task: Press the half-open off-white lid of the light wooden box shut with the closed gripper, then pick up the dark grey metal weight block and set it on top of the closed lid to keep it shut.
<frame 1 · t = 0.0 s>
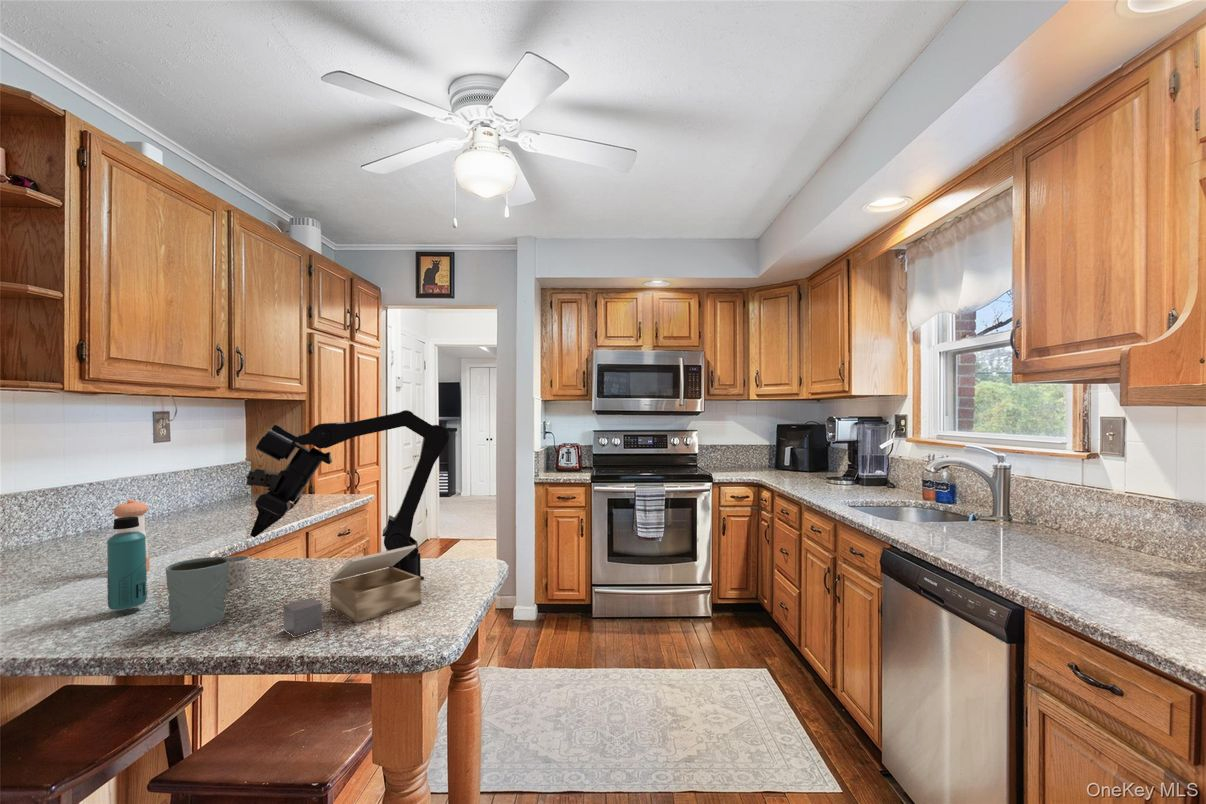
hand: (257, 531, 122), 15 cm above the countertop, tool tilted 35°, fingers open, 9 cm apart
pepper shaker: (131, 572, 144), on the countertop
lid: (373, 562, 117), point 9 cm above the countertop, hinge at 30.0°
beverage bottle: (127, 612, 115), on the countertop
weight block: (303, 630, 104), on the countertop
mug: (227, 590, 129), on the countertop
gray green planter pot: (198, 624, 108), on the countertop
box: (376, 605, 116), on the countertop
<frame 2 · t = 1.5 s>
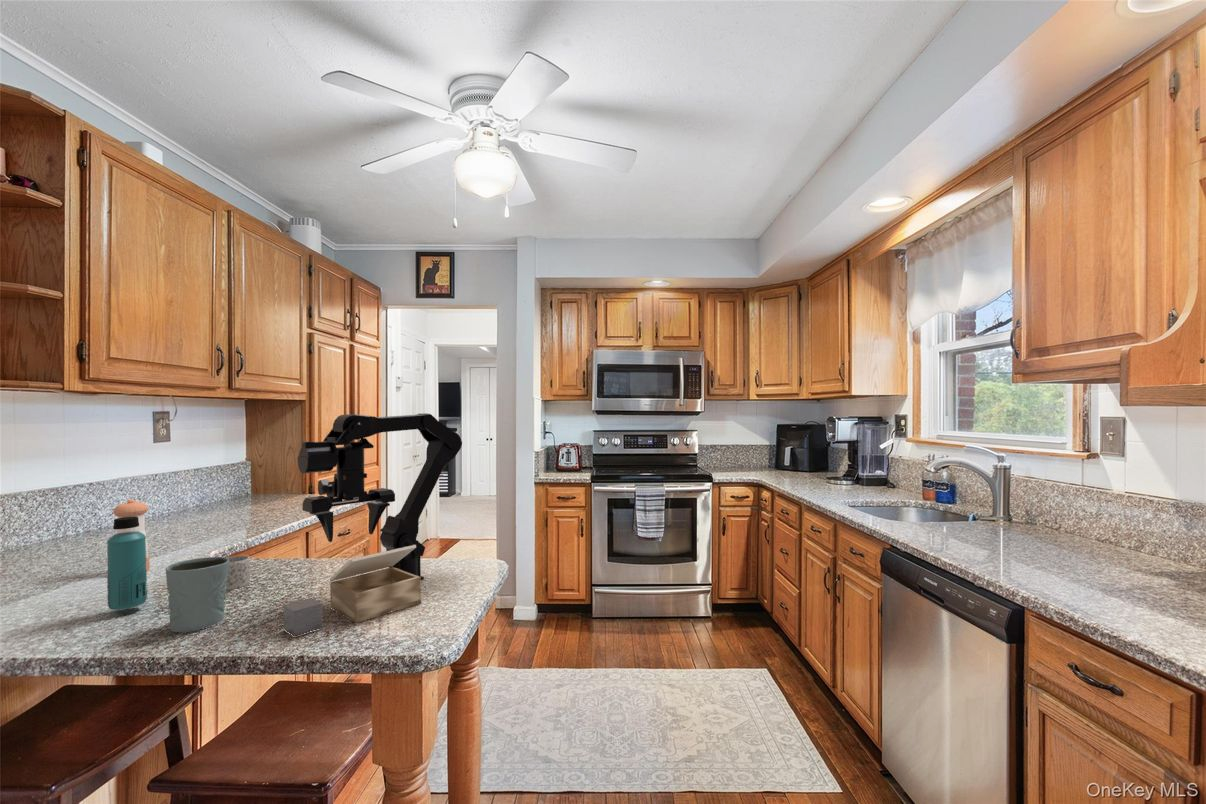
hand: (351, 537, 123), 13 cm above the countertop, tool pointing down, fingers open, 9 cm apart
nothing on the countertop moved.
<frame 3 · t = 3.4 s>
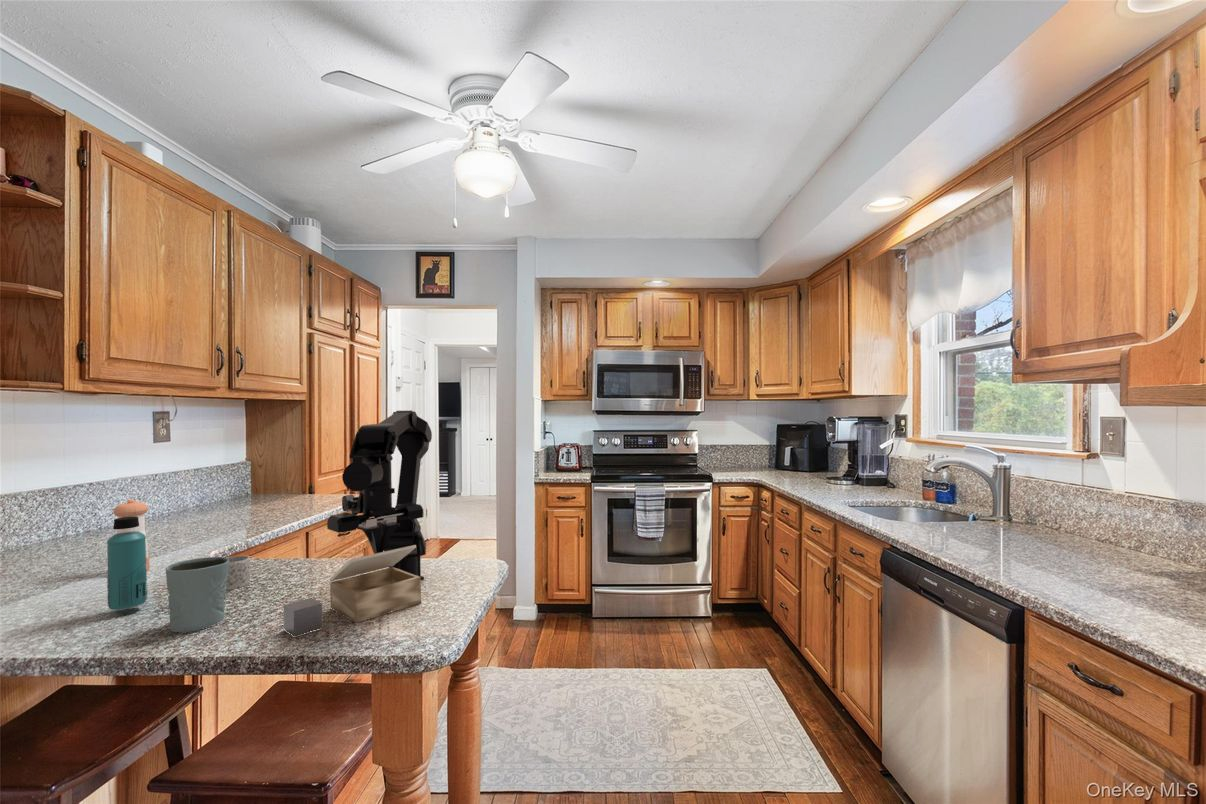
hand: (378, 557, 116), 11 cm above the countertop, tool pointing down, fingers closed, pressing on lid
lid: (373, 562, 117), point 9 cm above the countertop, hinge at 29.8°, touching gripper
everything else where it was.
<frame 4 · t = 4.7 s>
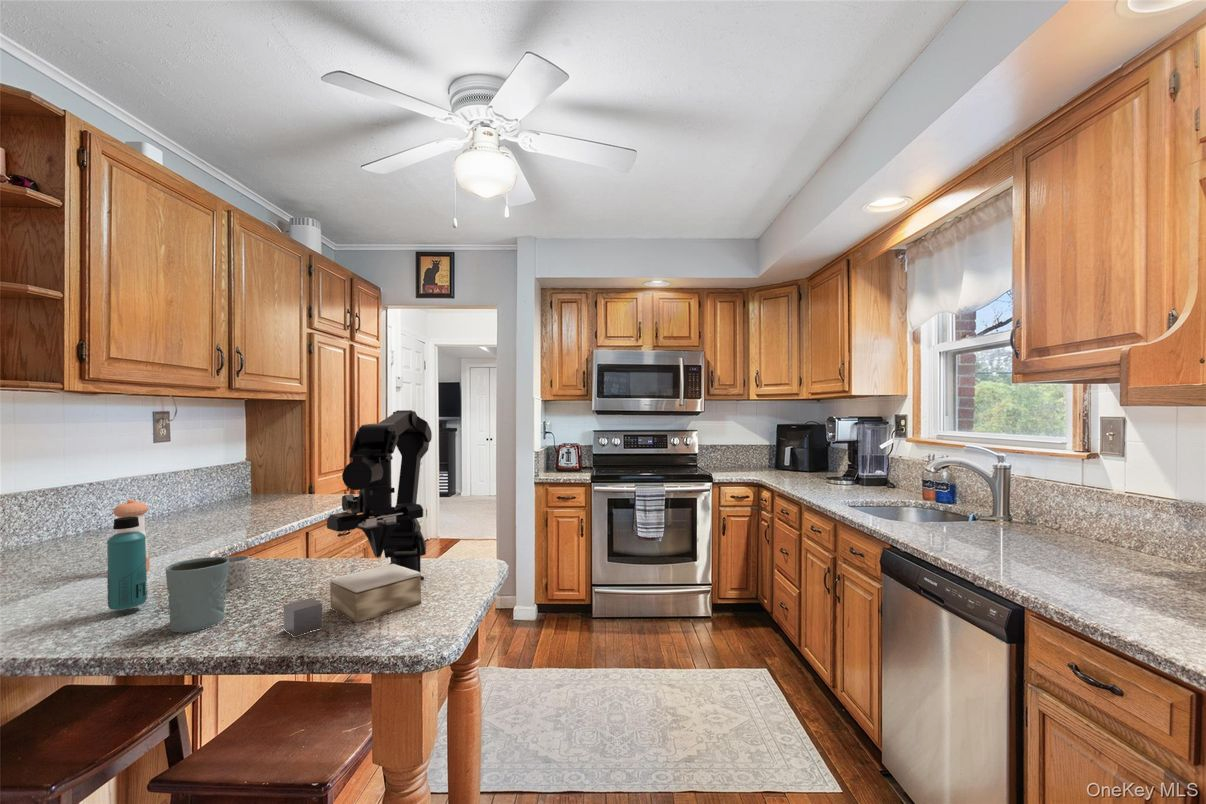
hand: (377, 556, 115), 11 cm above the countertop, tool pointing down, fingers closed
lid: (375, 576, 116), point 6 cm above the countertop, hinge at 0.8°
everything else where it was.
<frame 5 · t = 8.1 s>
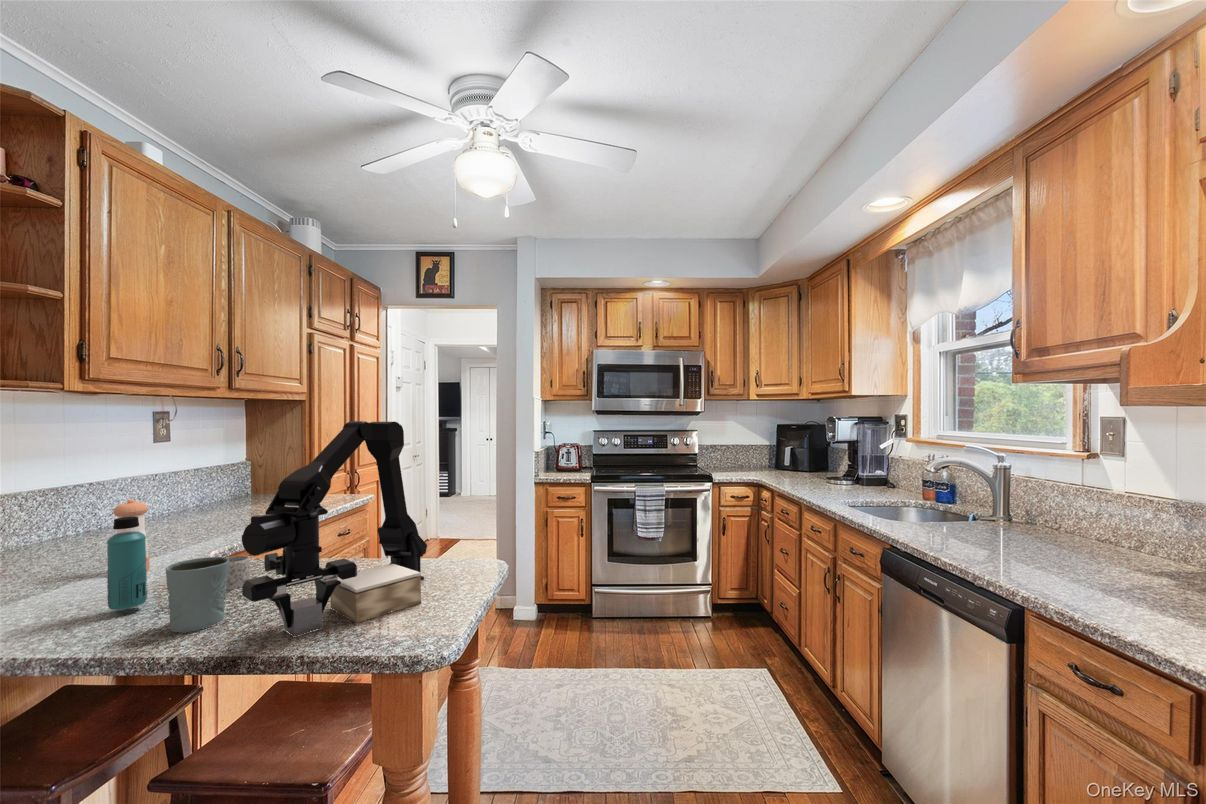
hand: (303, 623, 104), 1 cm above the countertop, tool pointing down, fingers closed on weight block, 5 cm apart
weight block: (303, 629, 104), on the countertop, touching gripper
everything else where it was.
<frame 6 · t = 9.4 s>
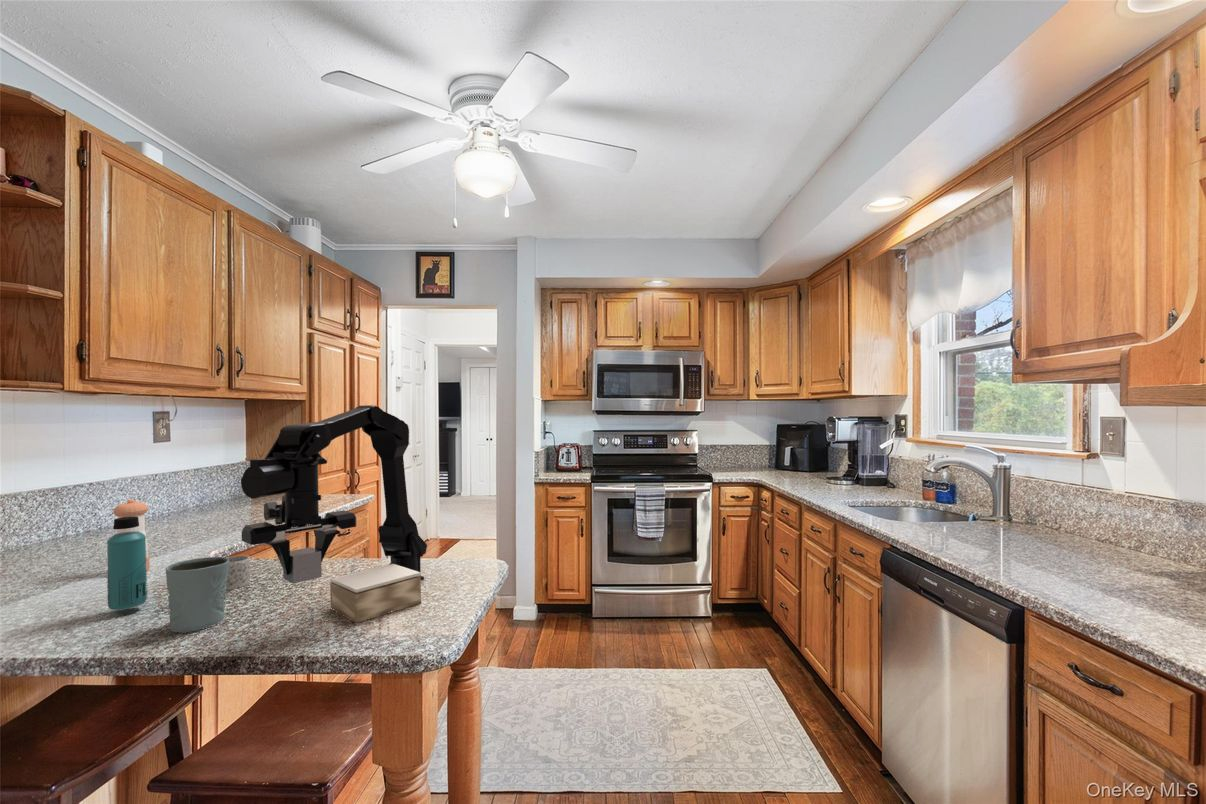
hand: (302, 571, 104), 11 cm above the countertop, tool pointing down, fingers closed on weight block, 5 cm apart
weight block: (302, 577, 104), point 10 cm above the countertop, touching gripper
everything else where it was.
when the fingers open (9 cm above the countertop, at t = 11.2 s): weight block drops 1 cm, resting on lid.
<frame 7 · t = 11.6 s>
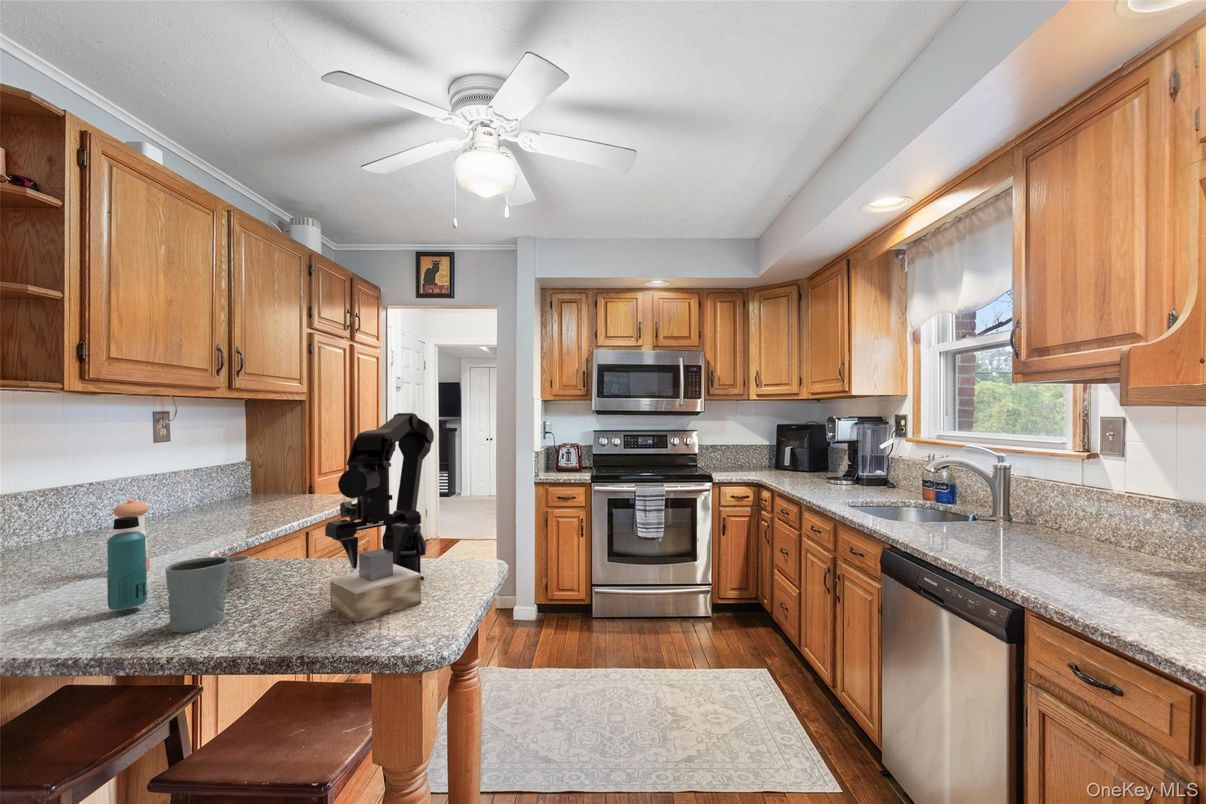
hand: (375, 563, 116), 9 cm above the countertop, tool pointing down, fingers open, 9 cm apart
lid: (376, 577, 116), point 6 cm above the countertop, hinge at -0.4°, touching weight block
weight block: (376, 576, 116), point 6 cm above the countertop, touching lid
everything else where it was.
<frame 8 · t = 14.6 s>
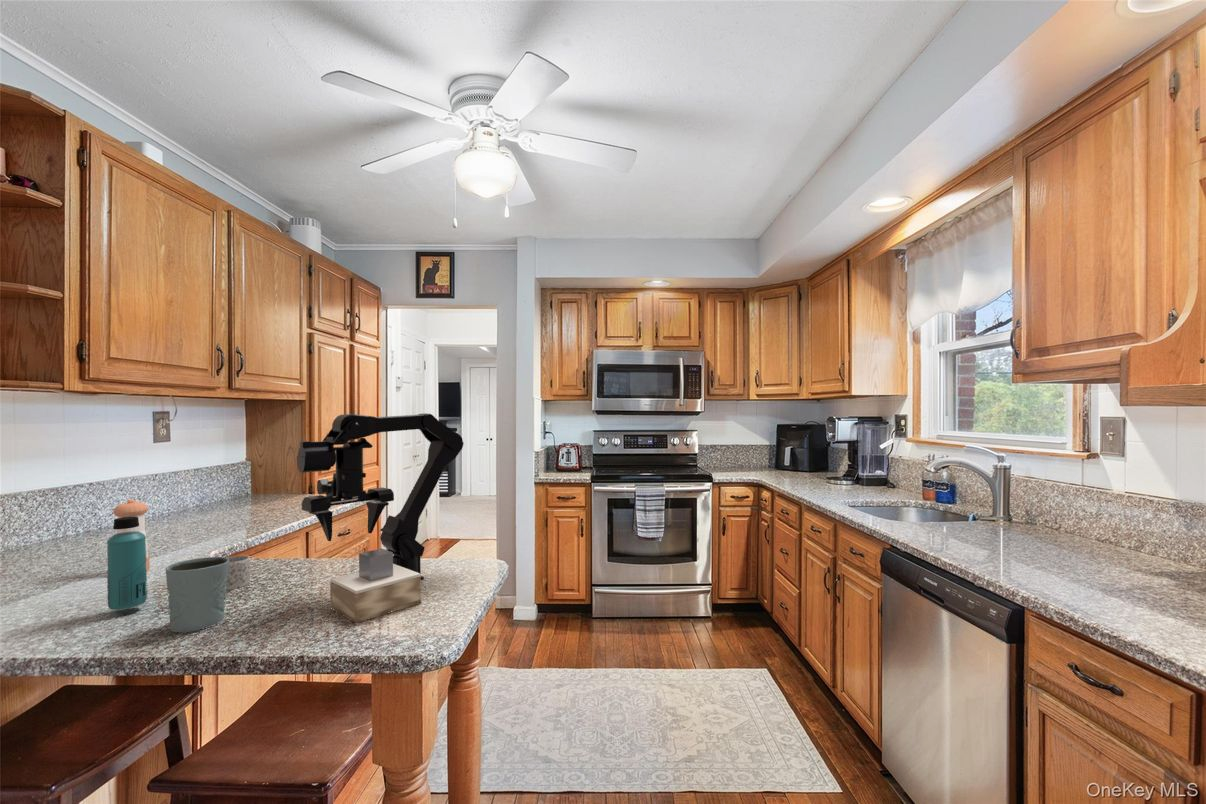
hand: (350, 536, 124), 13 cm above the countertop, tool pointing down, fingers open, 9 cm apart
nothing on the countertop moved.
at the end: lid at +0° (first picture: +30°); weight block inside the target area on the box (0.0 cm from its centre), point 6.4 cm above the box's base; weight block tilted 0° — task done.
